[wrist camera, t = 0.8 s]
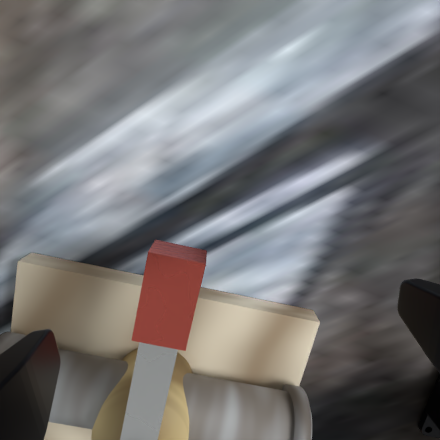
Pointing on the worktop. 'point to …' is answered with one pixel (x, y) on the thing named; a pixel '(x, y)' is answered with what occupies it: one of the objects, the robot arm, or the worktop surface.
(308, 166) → the worktop surface
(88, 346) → the valve board
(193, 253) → the valve lever
